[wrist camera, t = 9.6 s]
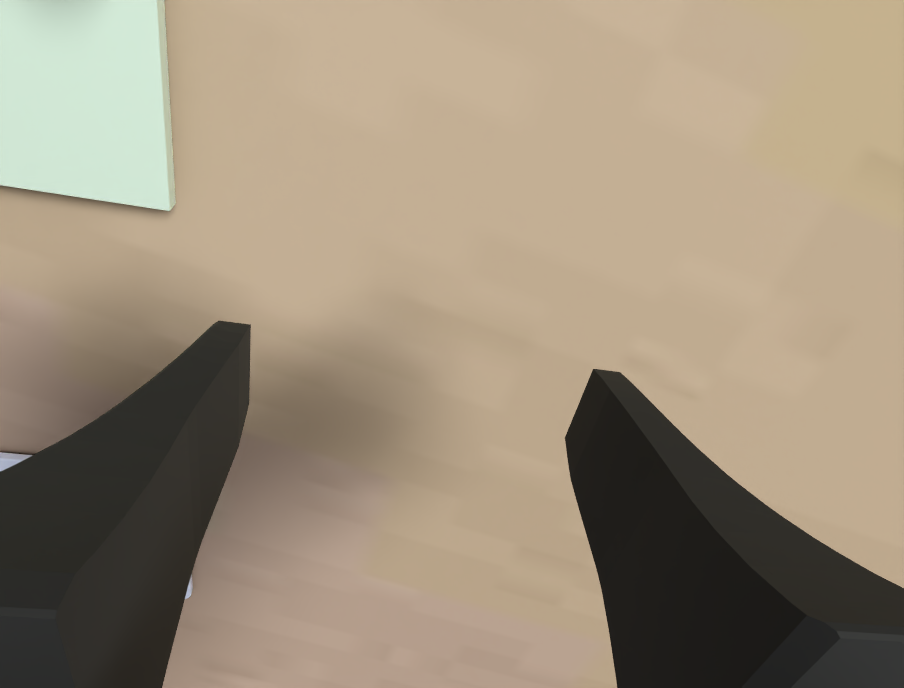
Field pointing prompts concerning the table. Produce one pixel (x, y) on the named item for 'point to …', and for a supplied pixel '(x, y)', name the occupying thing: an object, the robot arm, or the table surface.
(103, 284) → the table surface
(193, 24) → the table surface
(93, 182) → the tub lid
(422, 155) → the table surface
